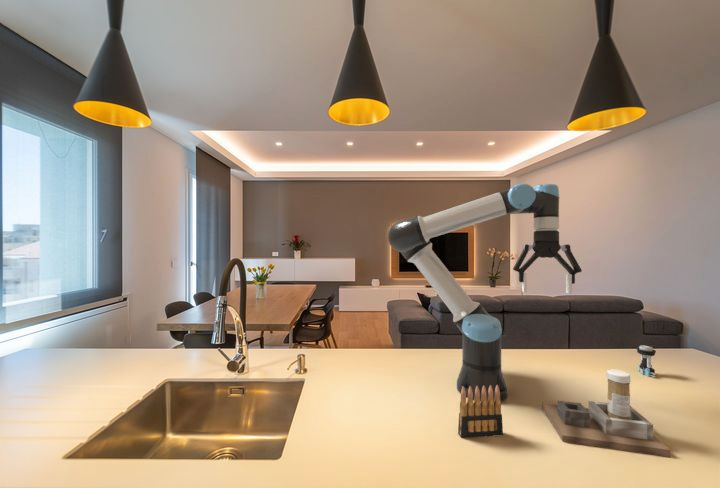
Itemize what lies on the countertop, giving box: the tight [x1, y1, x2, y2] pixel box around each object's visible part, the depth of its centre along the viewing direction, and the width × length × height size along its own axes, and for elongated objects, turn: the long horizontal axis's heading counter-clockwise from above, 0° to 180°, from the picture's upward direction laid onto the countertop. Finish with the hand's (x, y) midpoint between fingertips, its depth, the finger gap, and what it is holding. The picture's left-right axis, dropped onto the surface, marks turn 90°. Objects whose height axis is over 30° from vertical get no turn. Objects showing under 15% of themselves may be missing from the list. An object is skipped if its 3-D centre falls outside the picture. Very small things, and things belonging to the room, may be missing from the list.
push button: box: [635, 344, 657, 378], centre depth 115 cm, size 7×5×10 cm
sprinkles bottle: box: [606, 368, 631, 420], centre depth 79 cm, size 5×5×14 cm
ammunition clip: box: [457, 385, 504, 439], centre depth 78 cm, size 11×2×12 cm, turn 96°
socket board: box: [541, 400, 671, 458], centre depth 80 cm, size 21×16×5 cm
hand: (546, 292), depth 108 cm, fingers open, 13 cm apart
